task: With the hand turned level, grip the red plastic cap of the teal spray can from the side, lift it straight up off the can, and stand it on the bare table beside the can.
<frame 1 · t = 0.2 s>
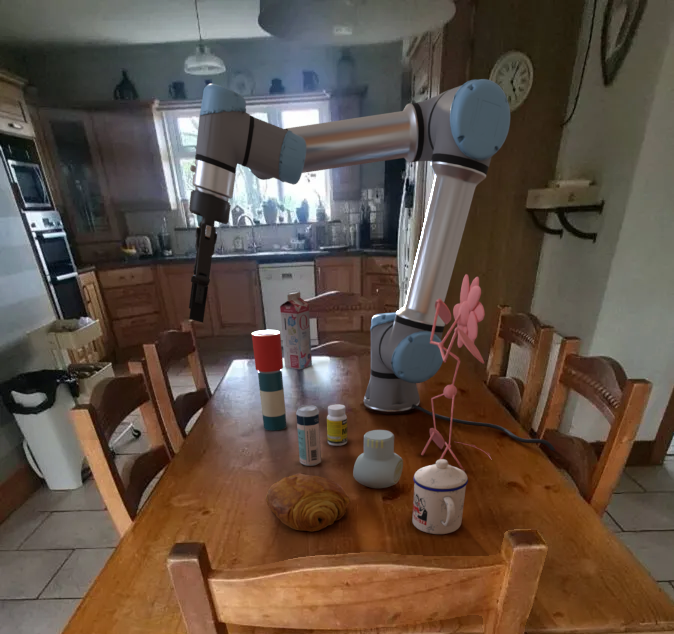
hand: (195, 315, 115), 28 cm above the table, tool tilted 20°, fingers open, 13 cm apart
figurine: (457, 461, 119), on the table
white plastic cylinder: (310, 463, 121), on the table
supplement bottle: (337, 443, 130), on the table
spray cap: (269, 368, 131), point 14 cm above the table, touching spray can
teacup with lid: (438, 528, 96), on the table
juice carton: (298, 366, 187), on the table
croissant: (308, 514, 102), on the table
air freshener: (378, 483, 111), on the table
spray can: (275, 426, 140), on the table
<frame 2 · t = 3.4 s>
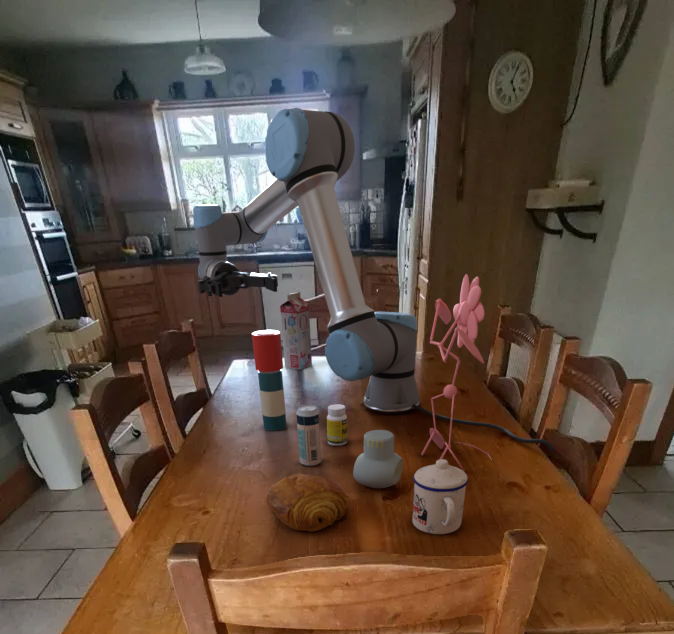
hand: (248, 287, 129), 30 cm above the table, tool horizontal, fingers open, 13 cm apart
nothing on the table moved.
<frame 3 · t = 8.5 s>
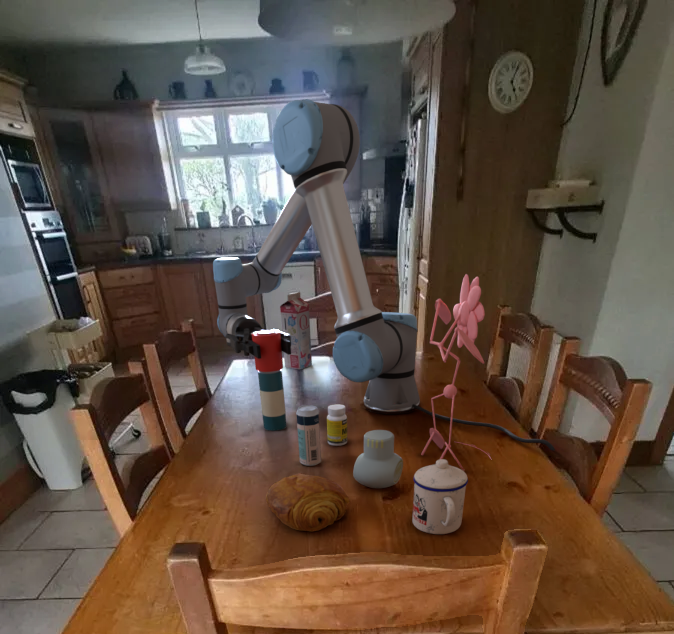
hand: (274, 350, 124), 19 cm above the table, tool horizontal, fingers closed on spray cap, 7 cm apart
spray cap: (269, 368, 131), point 14 cm above the table, touching gripper, spray can
everything else where it was.
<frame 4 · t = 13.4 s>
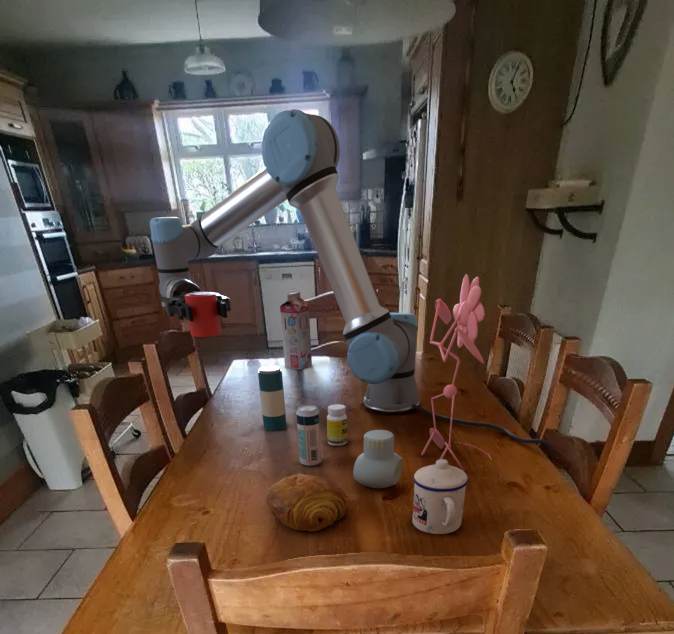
hand: (207, 312, 115), 28 cm above the table, tool horizontal, fingers closed on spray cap, 7 cm apart
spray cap: (206, 333, 121), point 23 cm above the table, touching gripper
everything else where it was.
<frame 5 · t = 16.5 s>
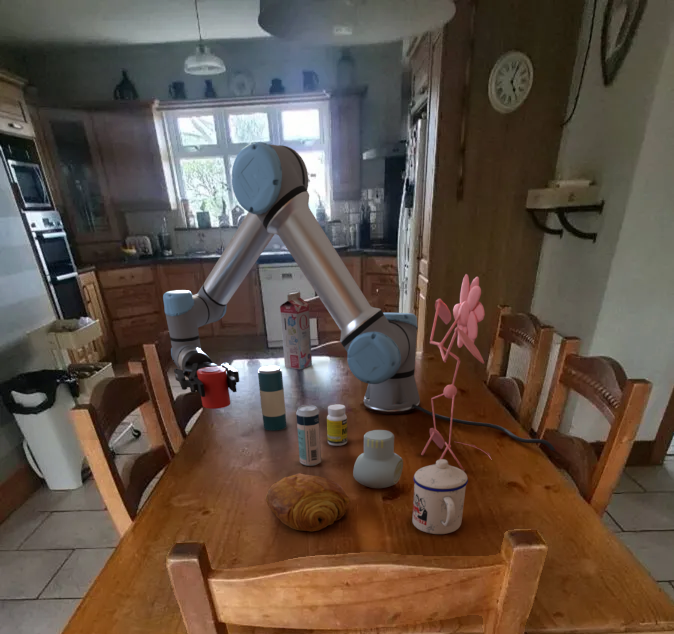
hand: (218, 388, 124), 13 cm above the table, tool horizontal, fingers closed on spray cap, 7 cm apart
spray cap: (216, 404, 131), point 8 cm above the table, touching gripper
everything else where it was.
when the fingers open (5 cm above the table, at t = 18.6 s): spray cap stays where it is, on the table.
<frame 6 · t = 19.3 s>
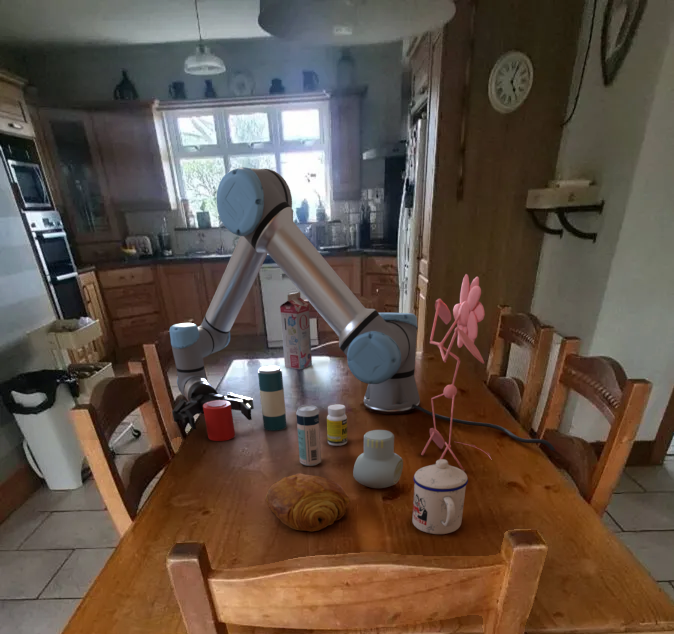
hand: (222, 419, 130), 5 cm above the table, tool horizontal, fingers open, 13 cm apart
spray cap: (221, 436, 135), on the table
everything else where it was.
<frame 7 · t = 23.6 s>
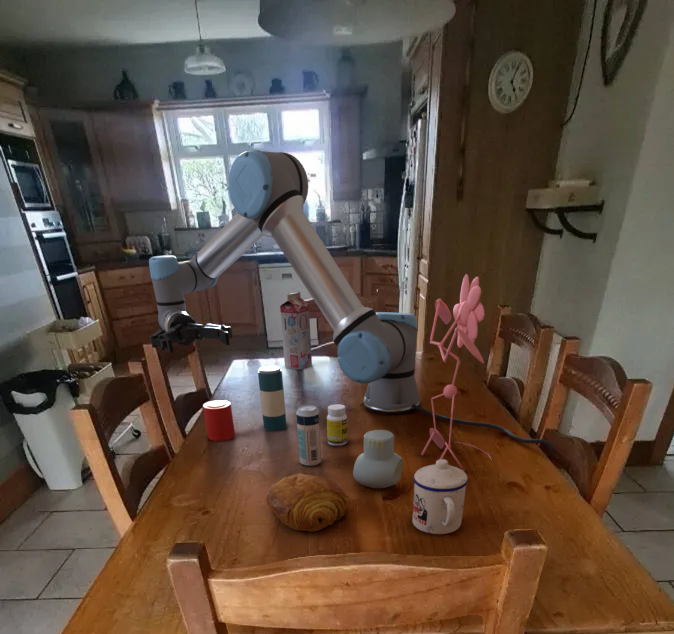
hand: (199, 342, 130), 20 cm above the table, tool horizontal, fingers open, 13 cm apart
nothing on the table moved.
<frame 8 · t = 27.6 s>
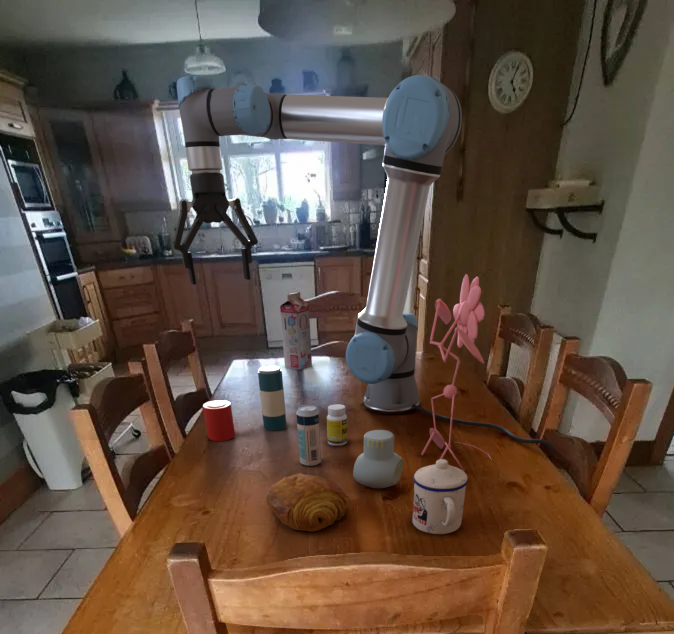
hand: (221, 281, 135), 31 cm above the table, tool pointing down, fingers open, 13 cm apart
nothing on the table moved.
at the end: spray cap inside the target area (0.0 cm from its centre), on the table; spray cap tilted 0°; the gripper is holding nothing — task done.
